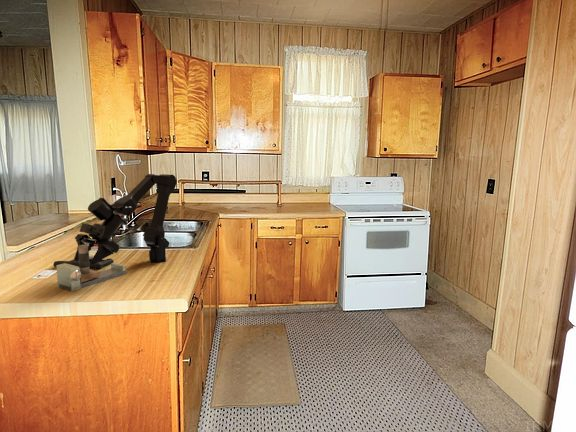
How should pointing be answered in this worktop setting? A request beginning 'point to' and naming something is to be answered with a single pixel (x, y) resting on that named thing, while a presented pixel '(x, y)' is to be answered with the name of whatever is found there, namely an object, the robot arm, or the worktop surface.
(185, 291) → the worktop surface
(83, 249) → the carriage
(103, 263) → the door handle
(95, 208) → the robot arm
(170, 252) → the worktop surface
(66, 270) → the rail
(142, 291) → the worktop surface
